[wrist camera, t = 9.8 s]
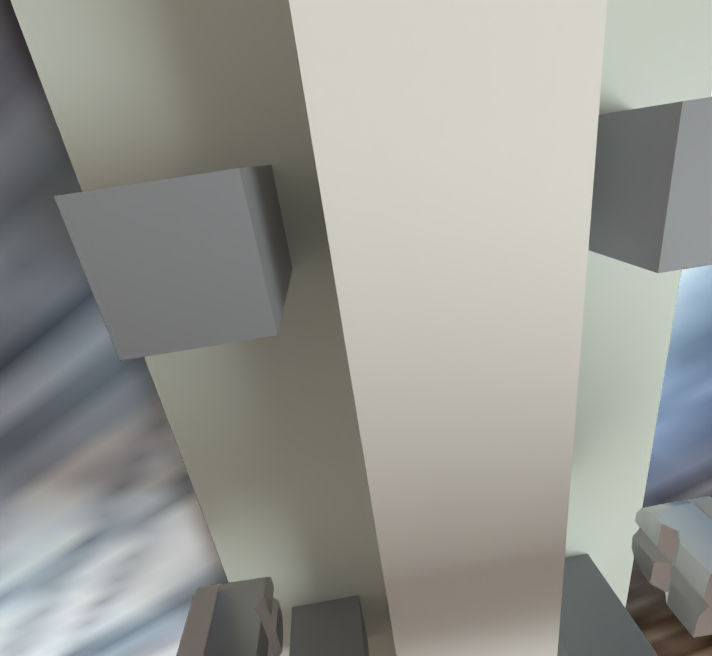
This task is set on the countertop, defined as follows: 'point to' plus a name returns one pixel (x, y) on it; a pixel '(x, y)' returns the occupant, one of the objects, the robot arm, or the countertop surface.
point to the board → (319, 295)
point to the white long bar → (460, 291)
